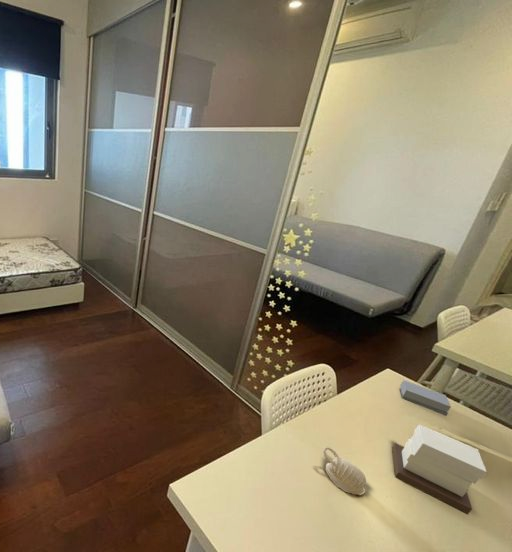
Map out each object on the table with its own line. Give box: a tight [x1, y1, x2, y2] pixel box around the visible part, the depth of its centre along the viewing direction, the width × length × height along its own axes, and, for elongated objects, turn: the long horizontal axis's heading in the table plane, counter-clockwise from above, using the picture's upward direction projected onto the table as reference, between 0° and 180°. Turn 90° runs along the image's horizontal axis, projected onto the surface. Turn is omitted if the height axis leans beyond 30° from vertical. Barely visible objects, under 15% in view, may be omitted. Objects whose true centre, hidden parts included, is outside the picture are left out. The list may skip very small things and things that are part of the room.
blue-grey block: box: [399, 379, 452, 417], centre depth 86 cm, size 9×6×4 cm, turn 54°
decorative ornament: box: [322, 446, 367, 496], centre depth 63 cm, size 4×8×5 cm, turn 37°
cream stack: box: [391, 433, 481, 514], centre depth 65 cm, size 11×9×8 cm
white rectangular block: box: [413, 424, 488, 480], centre depth 63 cm, size 9×6×2 cm, turn 54°
